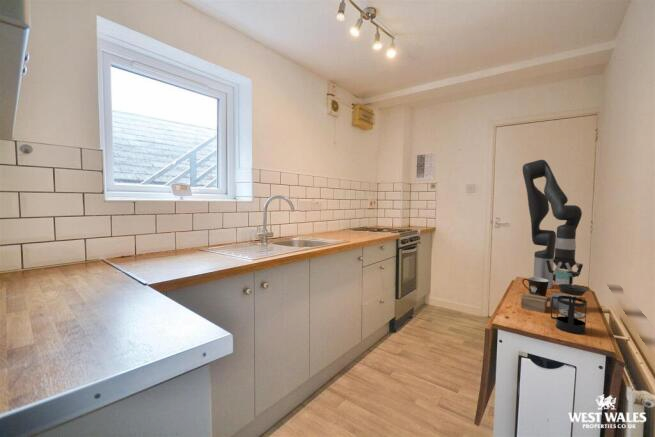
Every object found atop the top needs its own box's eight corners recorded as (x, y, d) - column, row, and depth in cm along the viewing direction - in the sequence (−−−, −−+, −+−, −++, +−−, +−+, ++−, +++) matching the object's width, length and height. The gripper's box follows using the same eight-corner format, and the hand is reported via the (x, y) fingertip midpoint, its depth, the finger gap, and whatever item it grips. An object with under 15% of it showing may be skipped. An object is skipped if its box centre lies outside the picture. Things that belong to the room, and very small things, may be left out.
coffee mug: (551, 301, 151) (553, 281, 150) (534, 301, 151) (535, 281, 150) (536, 294, 162) (537, 275, 161) (520, 293, 162) (521, 275, 162)
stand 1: (524, 302, 148) (525, 293, 148) (546, 307, 142) (547, 297, 142) (520, 307, 142) (521, 297, 141) (544, 312, 136) (544, 302, 135)
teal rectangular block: (555, 284, 141) (556, 271, 141) (557, 281, 146) (557, 269, 146) (568, 286, 138) (569, 273, 137) (570, 283, 143) (571, 271, 142)
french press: (587, 328, 119) (591, 271, 118) (588, 337, 112) (592, 276, 110) (551, 321, 127) (553, 267, 125) (549, 328, 119) (552, 271, 118)
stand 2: (552, 302, 149) (552, 292, 149) (575, 307, 143) (576, 296, 142) (549, 307, 142) (550, 297, 142) (574, 312, 136) (575, 301, 136)
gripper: (545, 246, 143) (543, 281, 144) (584, 250, 133) (582, 288, 134) (547, 245, 148) (545, 279, 149) (585, 248, 139) (583, 284, 140)
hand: (562, 283), depth 142 cm, fingers closed on teal rectangular block, 5 cm apart
